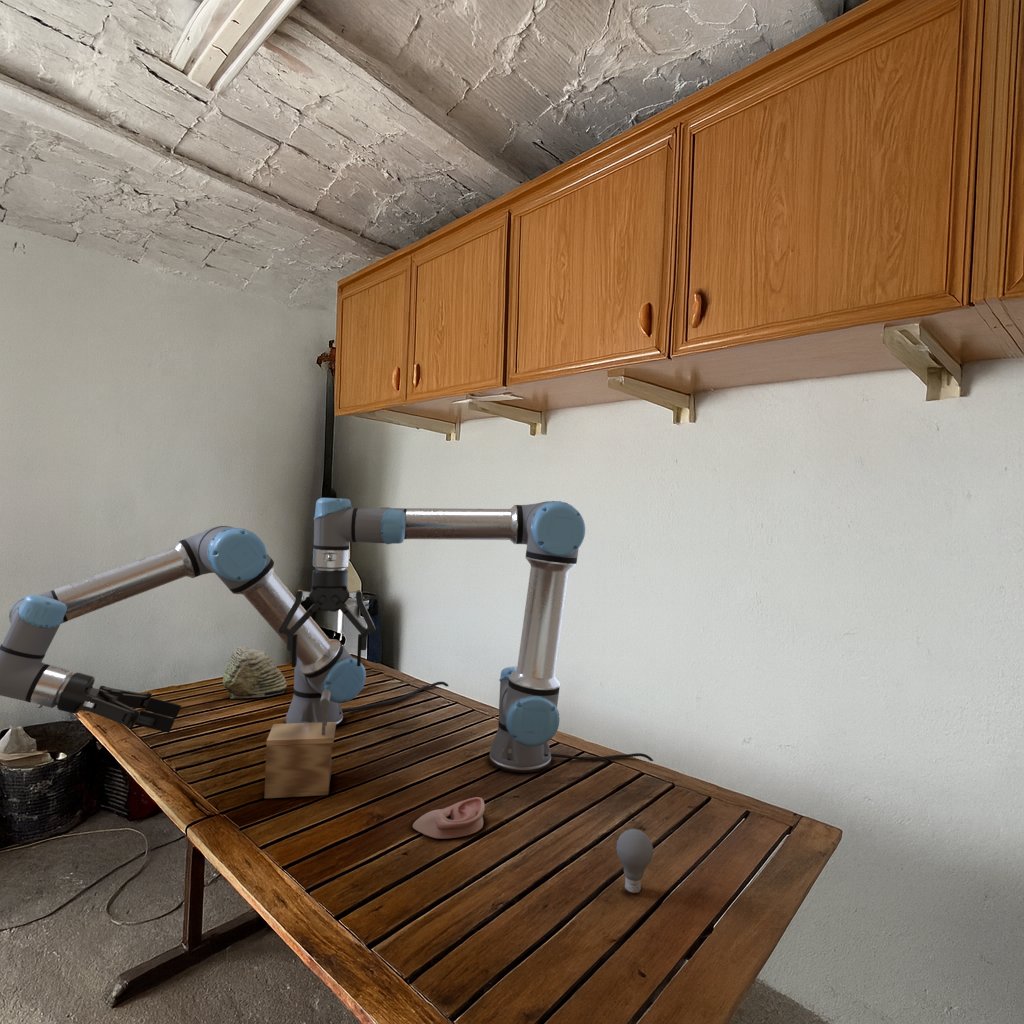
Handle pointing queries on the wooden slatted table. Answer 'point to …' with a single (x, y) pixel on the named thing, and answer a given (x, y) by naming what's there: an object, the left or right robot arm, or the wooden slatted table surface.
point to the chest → (298, 770)
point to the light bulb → (634, 857)
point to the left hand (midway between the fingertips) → (175, 718)
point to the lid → (305, 729)
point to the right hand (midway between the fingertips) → (326, 665)
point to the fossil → (252, 674)
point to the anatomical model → (453, 820)
